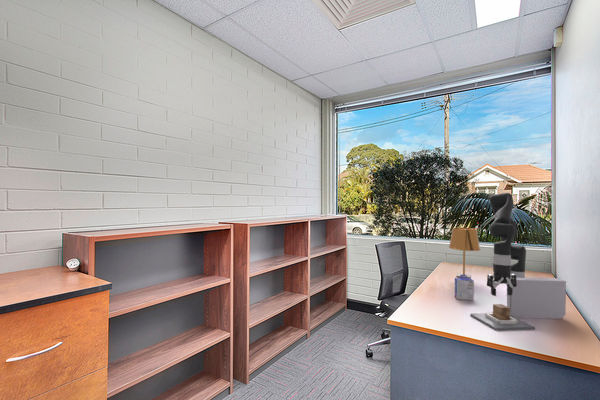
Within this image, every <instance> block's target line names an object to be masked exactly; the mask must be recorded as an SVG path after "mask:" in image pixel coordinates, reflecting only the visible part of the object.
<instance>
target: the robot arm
mask: <svg viewBox="0 0 600 400" xmlns="http://www.w3.org/2000/svg"><path fill="white" fill-rule="evenodd" d="M513 198H514V197H513V196H512V194H511V193H509V192H502V193H496V194H495V193H493V194H491V195H490V196H489V204H490V207H491V210H492V212H493V215H494V221H493V222H492V223H491V225H490V226H489V233H490V234H489V235H491V236H492V237H494V238H500V239H501V241H496V242H494V243H493V256H492V257H493V258H492V271H493V274H487V275H486V276H487V279H486V286H487V287H489V288H490V294H491V296H494V297H497V289H496V288H497V287H498V286H500V285H502V284H505V285H506V295H507V294H508V295H512V293H513V287H516V286H517V281H516V278H526V257H527V250H526V249H527V248H526V247H525V246H523V245H518V244H517V245H516V244H512V242H513V240H514V239H515V237H516V236H517V234H518V229H517V225H516V222H515V221H514V219H512V218H511V214H512V212H513V209H514V199H513ZM512 260H514V261H515V260H516V261H517V262H516V263H512ZM509 279H510V280H509ZM510 281H511V282H510ZM513 282H514V284H513ZM507 286H508V287H507Z"/></svg>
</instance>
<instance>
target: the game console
mask: <svg viewBox="0 0 600 400" xmlns="http://www.w3.org/2000/svg"><path fill="white" fill-rule="evenodd" d="M509 280H510V279H509ZM516 281H517V286H516V287H513V293H512V295H508V294H507V293H506V306H507V307H510V315H511V316H513V317H515V318H518V319H552V320H554V319H555V320H557V319H558V320H562V318H563V317H565V316H566V312H567V311H566V308H567V307H566V304H567V303H566V299H567V298H566V297H567V296H566V295H567V289H566V288H567V280H565V279H561V278H556V277H555V278H552V277H525V278H516ZM510 282H511V281H510ZM513 284H514V282H513ZM507 287H508V286H507V285H506V288H507Z"/></svg>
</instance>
